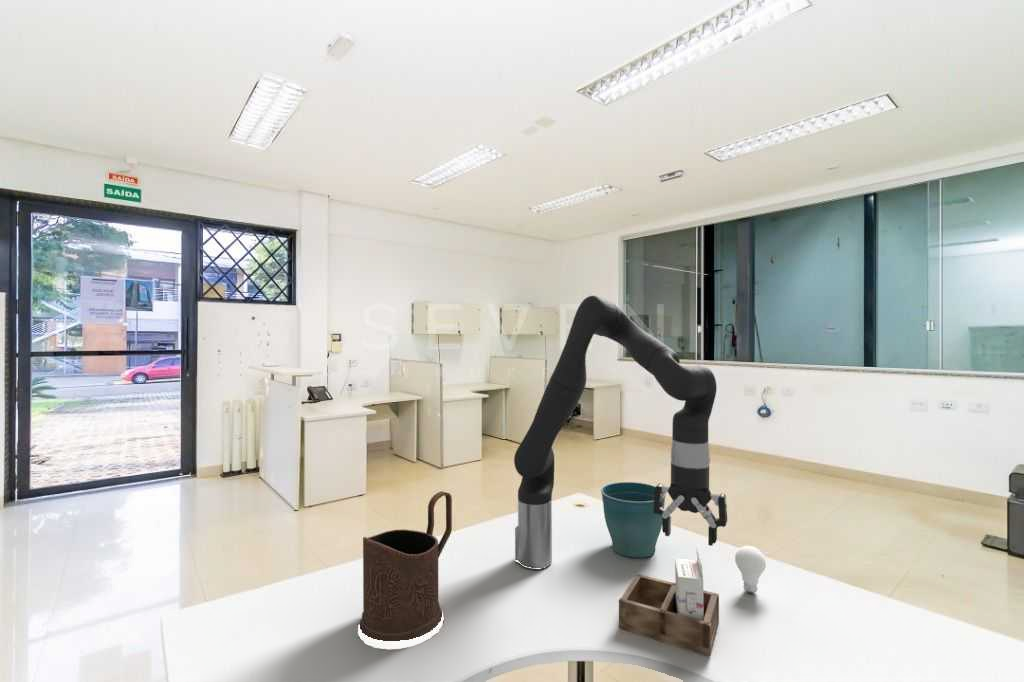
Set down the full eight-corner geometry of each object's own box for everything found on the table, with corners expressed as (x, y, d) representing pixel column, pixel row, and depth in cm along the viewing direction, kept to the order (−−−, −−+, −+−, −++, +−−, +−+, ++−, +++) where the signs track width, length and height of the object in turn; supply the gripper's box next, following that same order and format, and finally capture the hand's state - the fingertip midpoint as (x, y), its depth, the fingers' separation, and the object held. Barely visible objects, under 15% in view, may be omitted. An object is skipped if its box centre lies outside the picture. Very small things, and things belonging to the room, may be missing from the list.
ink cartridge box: (674, 610, 104) (674, 543, 104) (698, 613, 103) (698, 545, 103) (678, 634, 96) (678, 561, 96) (704, 638, 95) (704, 564, 95)
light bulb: (763, 588, 116) (763, 543, 116) (768, 602, 110) (768, 554, 110) (733, 583, 118) (733, 539, 118) (736, 597, 112) (736, 550, 112)
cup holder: (338, 627, 101) (337, 510, 101) (423, 581, 120) (423, 482, 120) (395, 663, 90) (394, 531, 90) (479, 606, 109) (478, 497, 109)
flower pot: (600, 560, 131) (599, 499, 131) (602, 534, 148) (602, 479, 148) (668, 567, 127) (668, 503, 127) (662, 539, 144) (662, 483, 144)
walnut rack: (618, 628, 100) (618, 600, 100) (635, 598, 112) (635, 573, 112) (710, 657, 91) (710, 625, 91) (718, 621, 102) (718, 594, 102)
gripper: (650, 461, 99) (649, 538, 99) (724, 471, 92) (724, 554, 92) (659, 453, 106) (658, 526, 106) (729, 462, 98) (728, 540, 99)
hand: (689, 539), depth 99 cm, fingers open, 8 cm apart
